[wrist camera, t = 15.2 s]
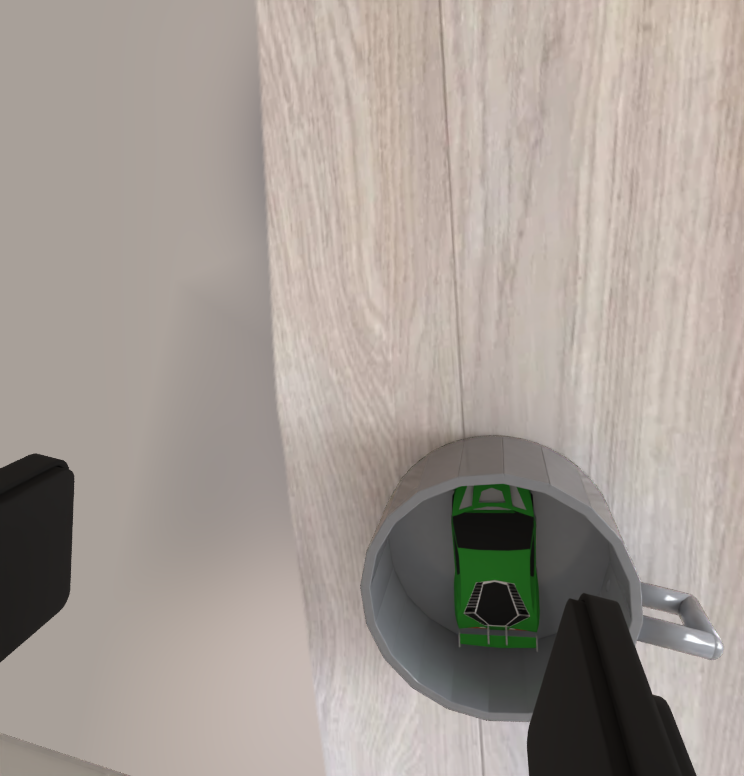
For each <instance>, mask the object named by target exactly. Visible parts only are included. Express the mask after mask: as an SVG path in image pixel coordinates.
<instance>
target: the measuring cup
mask: <svg viewBox="0 0 744 776" xmlns="http://www.w3.org/2000/svg"><path fill="white" fill-rule="evenodd" d="M490 484H507V485H511V486H516V487H520V488H524V489H529V490H532V491H530V493H531V494H533V504H534V516H536V519H537V527H536V528H537V545H536V567H537V573H538V580H539V583H538V586H539V606H540V620H539V626H538V630H537V632H531V631H521V630H507V636H516V637H536V635H537V640H538V652H537V651H536V648H494V647H485V646H475V645H466V644H461V646H460V647H459V631H460V634H477V635H488V633H487V629H480V628H461V629H459V627H458V624H457V621H456V616H455V606H454V571H455V564H454V551H453V539H452V526H451V515H452V495H453V494H454V491H453V490H454V489H455V488H458V487H460V486H473V485H490ZM469 507H471V506H469ZM514 507H515V506H514ZM517 508H518V507H517ZM360 586H361V588H360V589H361V595H362V601H363V607H364V613H365V619H366V624H367V626H368V628H369V630H370V632H371V634H372V636H373V638H374V640H375V642H376V644H377V646H378V648H379V650H380V652H381V654H382V655H383V657H384V658H385V660H386V661H387V662H388V663H389V664H390V665H391V666H392V667H393V668H394V669H395V670H396V672H397V673H398V674H399V675H400V676H401V677H402V678H403V679H404V680H405V681H406V682H407V683H408V684H409V685H410V686H411V687H412V688H413V689H415V690H417V691H418V692H420V693H422V694H423V695H425V696H427V697H428V698H430V699H432V700H433V701H435V702H437V703H438V704H440V705H442V706H443V707H445V708H448V709H449V710H452V711H456V712H459V713H463V714H466V715H469V716H473V717H476V718H480V719H483V720H486V721H487V720H488V721H511V722H530V721H531V717H532V714H533V711H534V708H535V704H536V701H537V698H538V694H539V691H540V688H541V684H542V681H543V678H544V674H545V671H546V668H547V665H548V661H549V658H550V655H551V651H552V648H553V645H554V641H555V638H556V635H557V631H558V628H559V625H560V621H561V618H562V615H563V612H564V608H565V605H566V602H567V601H568V599H570V598H571V599H575V600H578V599H579V597H580V596H581V594H583V593H586V594H590V595H594V596H598V597H602V598H606V599H610V600H614V601H617V602H618V603H619V605H620V607H621V610H622V612H623V615H624V618H625V621H626V623H627V626H628V629H629V632H630V634H631V637H632V640H633V643H634V645H636V642H637V641H640V642H644V643H648V644H652V645H656V646H659V647H663V648H667V649H671V650H675V651H678V652H682V653H686V654H690V655H694V656H697V657H701V658H705V659H709V660H715V659H718V658H719V657H721V655H722V654H723V651H724V646H723V643H722V641H721V639H720V637H719V636H718V634H717V632H716V630H715V629H714V627H713V625H712V624H711V622H710V620H709V618H708V617H707V615H706V613H705V612H704V610H703V608H702V606H701V605H700V603H699V601H698V600H697V598H696V597H694V596H693V595H691V594H688V593H684V592H680V591H676V590H672V589H668V588H664V587H660V586H656V585H652V584H648V583H644V582H641V581H640V578H639V575H638V573H637V571H636V568H635V566H634V564H633V562H632V559H631V557H630V555H629V553H628V550H627V548H626V546H625V544H624V541H623V539H622V537H621V535H620V532H619V530H618V528H617V525H616V523H615V521H614V519H613V517H612V514H611V512H610V510H609V508H608V505H607V503H606V501H605V499H604V497H603V494H602V493H601V492H600V491H599V489H598V488H597V487H596V486H595V484H594V483H593V482H592V481H591V479H590V478H589V477H588V476H587V475H586V474H585V473H584V472H583V471H582V470H581V469H580V468H579V467H578V466H576V465H575V464H574V463H572V462H571V461H570V460H569V459H567V458H566V457H564V456H563V455H561V454H559V453H557V452H556V451H554V450H552V449H550V448H547V447H545V446H543V445H540V444H538V443H535V442H532V441H528V440H524V439H521V438H514V437H508V436H480V437H472V438H467V439H463V440H458V441H456V442H453V443H450V444H447V445H444V446H442V447H441V448H439V449H437V450H435V451H433V452H431V453H430V454H428V455H427V456H425V457H424V458H422V459H421V460H420V461H418V462H417V463H416V464H415V465H414V466H413V467H412V468H411V469H410V470H409V471H408V472H407V473H406V474H405V475H404V477H402V479H401V481H400V482H399V484H398V486H397V487H396V489H395V491H394V492H393V494H392V496H391V498H390V500H389V501H388V503H387V505H386V507H385V510H384V512H383V514H382V517H381V519H380V521H379V524H378V526H377V528H376V531H375V533H374V535H373V537H372V540H371V542H370V544H369V547H368V549H367V552H366V558H365V563H364V569H363V574H362V580H361V585H360ZM476 604H477V603H476ZM642 606H644V607H647V608H651V609H655V610H659V611H663V612H667V613H671V614H675V615H679V617H680V619H681V621H682V623H683V625H684V626H683V625H680V624H676V623H672V622H668V621H664V620H660V619H656V618H652V617H648V616H644V615H643V610H642ZM489 635H497V636H506V632H505V630H489Z"/></svg>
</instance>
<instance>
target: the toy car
mask: <svg viewBox="0 0 744 776" xmlns="http://www.w3.org/2000/svg"><path fill="white" fill-rule="evenodd" d="M453 491H454V494H453V495H452V515H451V526H452V539H453V551H454V564H455V571H454V606H455V616H456V621H457V624H458V627H459V629H461V628H480V629H487V633H488V635H477V634H460V631H459V647H460V646H461V644H466V645H475V646H485V647H494V648H536V651H537V652H538V640H537V635H536V637H516V636H507V630H521V631H531V632H537V630H538V626H539V620H540V606H539V586H538V583H539V580H538V573H537V567H536V545H537V528H536V527H537V519H536V516H534V504H533V494H531V493H530V491H532V490H529V489H524V488H520V487H516V486H511V485H507V484H490V485H473V486H460V487H458V488H455V489H454V490H453ZM469 506H471V507H469ZM514 506H515V507H514ZM517 507H518V508H517ZM476 603H477V604H476ZM489 630H505V632H506V636H497V635H489Z"/></svg>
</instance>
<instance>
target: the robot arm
mask: <svg viewBox="0 0 744 776" xmlns="http://www.w3.org/2000/svg"><path fill="white" fill-rule="evenodd" d="M73 499H74V474H73V472H72V471H71V470H69V467H68V465H67V463H66V462H65V461H64V460H60V459H56V458H52V457H48V456H44V455H40V454H31V455H28V456H26V457H24V458H22V459H20V460H17V461H15V462H13V463H11V464H9V465H7V466H5V467H3V468H0V662H1V661H2V660H4V659H5V658H6V657H7V656H8V655H9V654H11V653H12V652H13V651H14V650H15V649H16V648H17V647H18V646H20V645H21V644H22V643H23V642H24V641H26V640H27V639H28V638H29V637H30V636H31V635H32V634H34V633H35V632H36V631H37V630H38V629H40V628H41V627H42V626H43V625H44V624H45V623H46V622H48V621H49V620H50V619H51V618H52V617H53V616H54V615H56V614H57V613H58V612H59V611H60V610H61V609H62V608H63V607H64V605H65V603H66V602H67V599H68V597H69V593H70V580H71V579H70V578H71V554H72V552H71V551H72V525H73ZM527 753H528V766H529V776H696V773H695V771H694V768H693V765H692V763H691V760H690V758H689V755H688V753H687V750H686V748H685V745H684V743H683V740H682V737H681V735H680V732H679V730H678V727H677V725H676V722H675V720H674V717H673V714H672V712H671V709H670V707H669V706H668V704H667V702H666V700H664V699H663V698H662V697H659V696H656V695H652V692H651V689H650V686H649V684H648V681H647V678H646V675H645V673H644V670H643V667H642V664H641V662H640V659H639V656H638V654H637V651H636V648H635V645H634V643H633V640H632V637H631V634H630V632H629V629H628V626H627V623H626V621H625V618H624V615H623V612H622V610H621V607H620V605H619V603H618V602H617V601H614V600H610V599H606V598H602V597H598V596H594V595H590V594H586V593H583V594H581V596H580V597H579V599H578V600H575V599H571V598H570V599H568V601H567V602H566V605H565V608H564V612H563V615H562V618H561V621H560V625H559V628H558V631H557V635H556V638H555V641H554V645H553V648H552V651H551V655H550V658H549V661H548V665H547V668H546V671H545V674H544V678H543V681H542V684H541V688H540V691H539V694H538V698H537V701H536V704H535V708H534V711H533V714H532V717H531V721H530V725H529V729H528V737H527ZM0 776H129V775H127V774H124V773H121V772H117V771H115V770H112V769H108V768H105V767H103V766H100V765H97V764H93V763H90V762H87V761H84V760H81V759H78V758H75V757H72V756H69V755H66V754H63V753H60V752H57V751H54V750H51V749H48V748H45V747H42V746H39V745H36V744H33V743H30V742H27V741H24V740H20V739H17V738H15V737H12V736H8V735H5V734H2V733H0Z"/></svg>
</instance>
